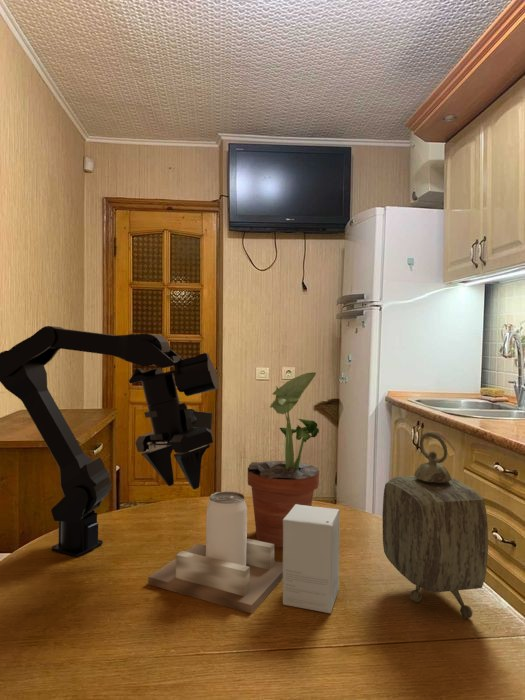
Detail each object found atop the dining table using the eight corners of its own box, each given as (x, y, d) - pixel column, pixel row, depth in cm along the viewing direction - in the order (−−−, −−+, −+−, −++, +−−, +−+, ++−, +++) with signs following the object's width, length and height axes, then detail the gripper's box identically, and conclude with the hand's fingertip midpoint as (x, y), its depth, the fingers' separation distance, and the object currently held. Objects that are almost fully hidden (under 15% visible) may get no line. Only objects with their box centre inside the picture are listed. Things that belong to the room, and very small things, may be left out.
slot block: (148, 584, 74) (148, 553, 74) (197, 550, 87) (197, 523, 87) (251, 613, 67) (252, 579, 67) (288, 571, 79) (289, 542, 79)
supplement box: (340, 590, 74) (341, 508, 74) (330, 615, 67) (332, 525, 67) (293, 581, 76) (295, 502, 76) (280, 605, 69) (282, 518, 69)
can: (250, 578, 74) (251, 501, 74) (208, 583, 73) (210, 504, 72) (241, 560, 80) (242, 489, 80) (202, 564, 79) (204, 491, 79)
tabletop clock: (486, 625, 65) (490, 442, 65) (426, 631, 63) (430, 444, 63) (428, 574, 79) (432, 424, 79) (378, 579, 77) (381, 425, 77)
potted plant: (336, 534, 96) (339, 359, 95) (289, 558, 84) (293, 360, 84) (276, 514, 106) (279, 357, 106) (227, 534, 94) (230, 357, 94)
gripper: (228, 387, 84) (248, 473, 83) (176, 395, 98) (194, 469, 98) (172, 402, 76) (195, 497, 76) (126, 409, 91) (145, 489, 91)
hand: (183, 486), depth 85 cm, fingers open, 9 cm apart
